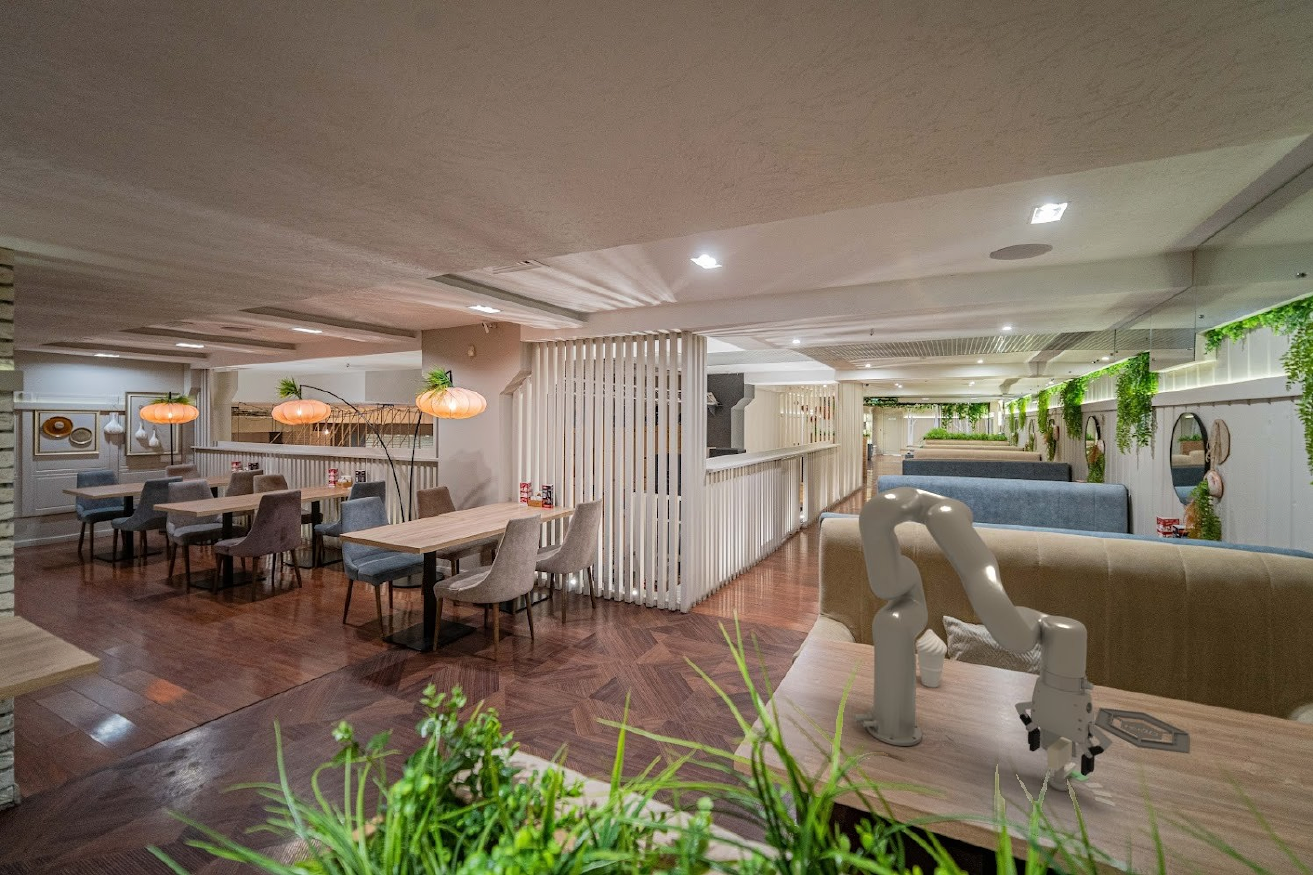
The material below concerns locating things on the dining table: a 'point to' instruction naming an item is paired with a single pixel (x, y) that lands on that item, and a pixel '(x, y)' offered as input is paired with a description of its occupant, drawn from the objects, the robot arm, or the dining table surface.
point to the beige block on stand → (1060, 762)
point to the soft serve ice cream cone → (930, 658)
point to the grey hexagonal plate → (1178, 736)
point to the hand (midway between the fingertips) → (1059, 760)
